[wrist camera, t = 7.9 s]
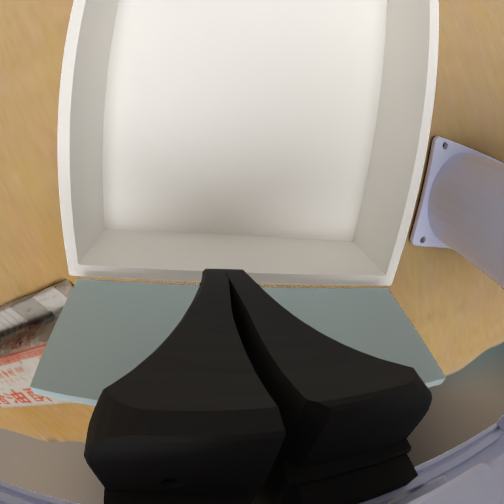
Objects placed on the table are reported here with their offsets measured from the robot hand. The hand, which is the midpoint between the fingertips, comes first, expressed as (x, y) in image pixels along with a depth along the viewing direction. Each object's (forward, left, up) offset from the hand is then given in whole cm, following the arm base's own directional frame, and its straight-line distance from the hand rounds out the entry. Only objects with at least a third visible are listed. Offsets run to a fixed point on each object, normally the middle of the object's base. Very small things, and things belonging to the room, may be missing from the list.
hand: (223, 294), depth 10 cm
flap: (-1, +2, 0) cm, 2 cm away
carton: (-1, -9, -8) cm, 12 cm away
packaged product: (+16, +13, -9) cm, 22 cm away
